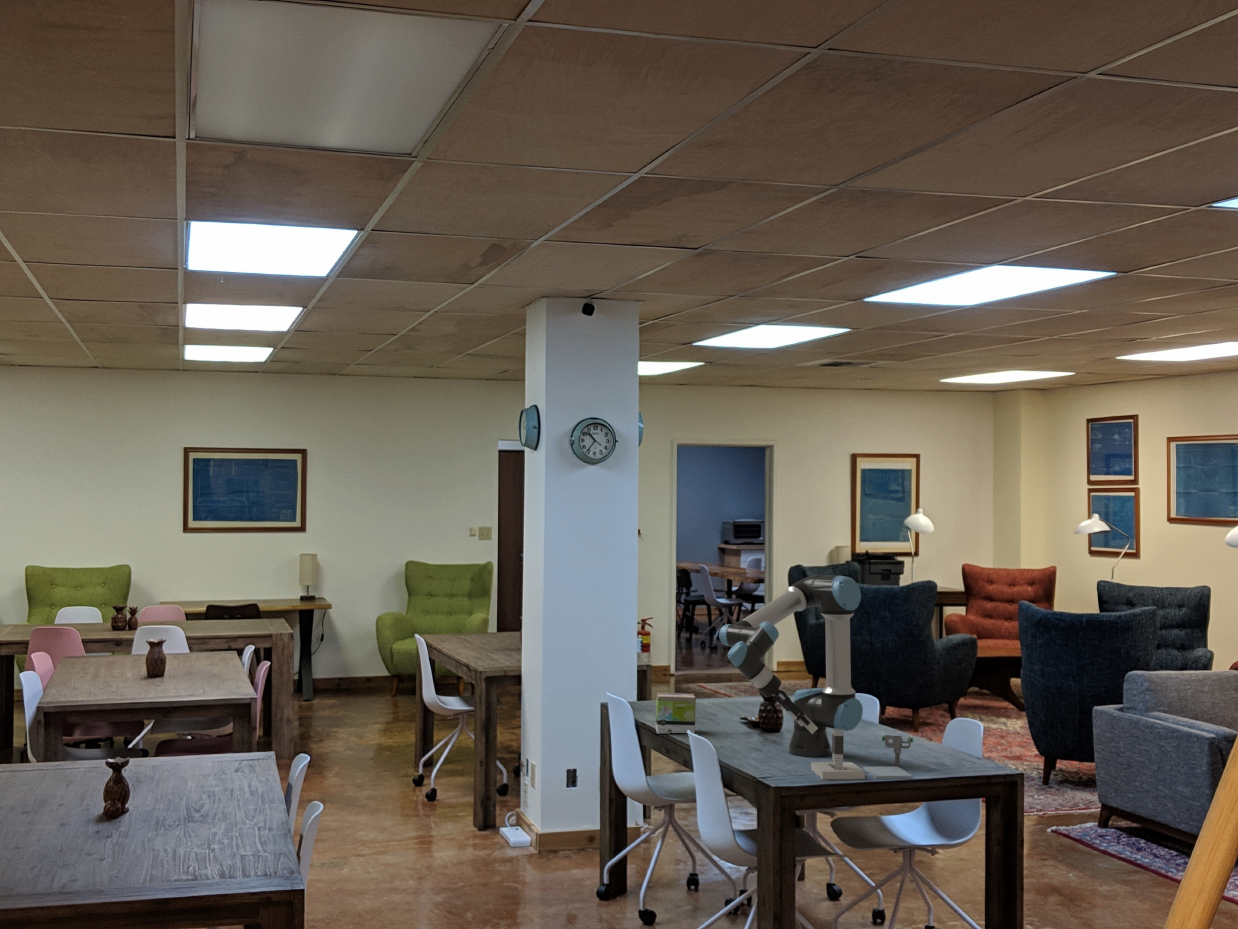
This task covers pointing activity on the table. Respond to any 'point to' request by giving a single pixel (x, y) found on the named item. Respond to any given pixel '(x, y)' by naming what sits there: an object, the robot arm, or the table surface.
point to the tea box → (675, 712)
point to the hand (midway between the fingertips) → (809, 727)
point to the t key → (837, 749)
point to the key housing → (838, 771)
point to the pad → (887, 773)
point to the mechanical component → (897, 745)
